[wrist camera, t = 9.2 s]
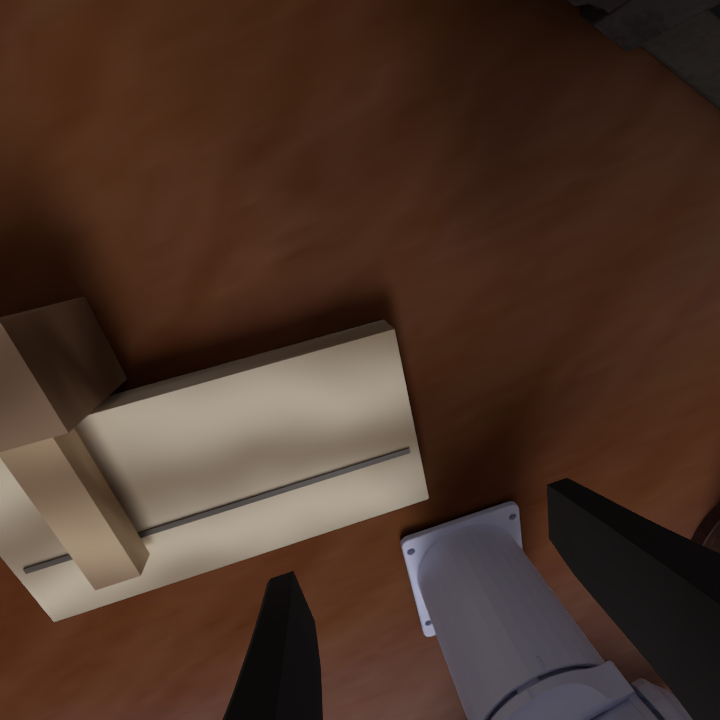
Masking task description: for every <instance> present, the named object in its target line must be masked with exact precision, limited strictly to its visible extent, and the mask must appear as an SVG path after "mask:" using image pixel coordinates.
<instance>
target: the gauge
mask: <svg viewBox="0 0 720 720" xmlns="http://www.w3.org/2000/svg"><path fill="white" fill-rule="evenodd" d="M126 380H127V377H126V375H125V374H124V372H123V370H122V368H121V366H120V364H119V362H118V360H117V358H116V356H115V354H114V352H113V350H112V348H111V346H110V344H109V342H108V340H107V338H106V336H105V334H104V332H103V330H102V328H101V326H100V324H99V323H98V321H97V319H96V317H95V315H94V313H93V311H92V309H91V307H90V305H89V303H88V301H87V299H86V297H85V296H84V297H80V298H76V299H72V300H68V301H64V302H60V303H56V304H52V305H47V306H43V307H39V308H35V309H31V310H27V311H23V312H19V313H15V314H11V315H7V316H3V317H0V458H1V460H2V461H3V462H4V464H5V465H6V467H7V468H8V469H9V471H10V472H11V473H12V475H13V476H14V478H15V479H16V480H17V482H18V483H19V485H20V486H21V487H22V489H23V490H24V492H25V493H26V494H27V496H28V497H29V499H30V500H31V501H32V503H33V504H34V506H35V507H36V508H37V510H38V511H39V513H40V514H41V515H42V517H43V518H44V520H45V521H46V522H47V524H48V525H49V527H50V528H51V529H52V531H53V532H54V534H55V535H56V536H57V538H58V539H59V541H60V542H61V543H62V545H63V546H64V548H65V549H66V550H67V552H68V553H69V555H70V556H71V557H72V559H73V560H74V562H75V563H76V564H77V566H78V567H79V568H80V570H81V571H82V573H83V574H84V575H85V577H86V578H87V580H88V581H89V582H90V584H91V585H92V587H93V588H94V589H95V590H98V589H102V588H105V587H108V586H111V585H114V584H117V583H120V582H123V581H126V580H129V579H132V578H136V577H139V576H141V574H142V572H143V569H144V567H145V565H146V562H147V560H148V558H149V555H150V553H149V551H148V550H147V548H146V546H145V545H144V543H143V541H142V540H141V538H140V536H139V535H138V533H137V532H136V530H135V528H134V527H133V525H132V523H131V522H130V520H129V518H128V517H127V515H126V513H125V512H124V510H123V508H122V507H121V505H120V503H119V502H118V500H117V498H116V497H115V495H114V493H113V492H112V490H111V488H110V487H109V485H108V483H107V482H106V480H105V478H104V477H103V475H102V474H101V472H100V470H99V469H98V467H97V465H96V464H95V462H94V460H93V459H92V457H91V455H90V454H89V452H88V450H87V449H86V447H85V445H84V444H83V442H82V440H81V439H80V437H79V435H78V434H77V432H76V430H75V429H74V427H76V426H77V425H78V424H79V423H80V422H81V421H82V420H83V419H84V418H85V417H86V416H87V415H89V414H90V413H91V412H92V411H93V410H94V409H95V408H96V407H97V406H98V405H99V404H101V403H102V402H103V401H104V400H105V399H106V398H107V397H108V396H109V395H110V394H111V393H112V392H114V391H115V390H116V389H117V388H118V387H119V386H120V385H121V384H122V383H123V382H124V381H126Z"/></svg>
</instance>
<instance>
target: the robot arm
mask: <svg viewBox="0 0 720 720" xmlns="http://www.w3.org/2000/svg"><path fill="white" fill-rule="evenodd" d="M547 495H548V522H549V539H550V540H551V542H552V543H553V545H554V546H555V548H556V549H557V551H558V552H559V554H560V555H561V557H562V558H563V559H564V561H565V562H566V564H567V565H568V566H569V568H570V569H571V571H572V572H573V574H574V575H575V576H576V577H577V579H578V580H579V581H580V582H581V583H582V585H583V586H584V587H585V588H586V589H587V591H588V592H589V593H590V594H591V595H592V596H593V598H594V599H595V600H596V601H597V602H598V604H599V605H600V606H601V607H602V608H603V609H604V611H605V612H606V613H607V614H608V615H609V616H610V618H611V619H612V620H613V621H614V622H615V623H616V625H617V626H618V627H619V628H620V629H621V630H622V632H623V633H624V634H625V635H626V636H627V638H628V639H629V640H630V641H631V642H632V643H633V645H634V646H635V647H636V648H637V649H638V650H639V652H640V653H641V654H642V655H643V656H644V657H645V659H646V660H647V661H648V662H649V663H650V664H651V666H652V667H653V668H654V669H655V671H656V672H657V673H658V674H659V676H660V677H661V678H662V679H663V681H664V682H665V683H666V684H667V686H668V687H669V688H670V690H671V691H672V692H673V694H674V695H675V696H676V697H675V696H674V695H673V694H671V693H670V692H669V691H667V690H666V689H664V688H661V687H659V686H657V685H654V684H651V683H650V682H649V681H647V680H645V679H643V678H638V679H637V680H635V681H633V682H632V683H631V686H630V684H629V683H628V682H627V680H626V679H625V678H624V676H623V675H622V674H621V672H620V671H619V670H618V668H617V667H616V666H615V664H614V663H613V662H612V661H610V660H609V661H607V662H605V661H604V660H603V659H602V657H601V656H600V655H599V653H598V652H597V651H596V649H595V648H594V647H593V645H592V644H591V642H590V641H589V640H588V638H587V637H586V636H585V634H584V633H583V632H582V630H581V629H580V628H579V626H578V625H577V623H576V622H575V621H574V619H573V618H572V617H571V615H570V614H569V613H568V611H567V610H566V609H565V607H564V606H563V604H562V603H561V602H560V600H559V599H558V598H557V596H556V595H555V594H554V592H553V591H552V589H551V588H550V587H549V585H548V584H547V583H546V581H545V580H544V579H543V577H542V576H541V575H540V573H539V572H538V570H537V569H536V568H535V566H534V565H533V564H532V562H531V561H530V560H529V558H528V557H527V556H526V554H525V553H524V551H523V549H522V538H521V527H520V515H519V507H518V505H517V504H516V503H515V502H513V501H509V502H506V503H503V504H500V505H497V506H494V507H491V508H488V509H485V510H482V511H479V512H476V513H473V514H470V515H467V516H464V517H461V518H458V519H455V520H452V521H449V522H446V523H443V524H440V525H437V526H434V527H431V528H428V529H425V530H423V531H420V532H417V533H414V534H411V535H408V536H405V537H404V538H403V539H402V540H401V547H402V551H403V555H404V559H405V563H406V567H407V571H408V575H409V579H410V583H411V587H412V591H413V595H414V598H415V602H416V606H417V610H418V614H419V618H420V622H421V626H422V630H423V633H424V635H425V636H428V637H430V636H433V635H436V636H437V639H438V641H439V644H440V647H441V649H442V652H443V655H444V658H445V660H446V663H447V666H448V668H449V671H450V674H451V677H452V679H453V682H454V685H455V687H456V690H457V693H458V696H459V698H460V701H461V704H462V707H463V709H464V712H465V715H466V717H467V720H720V553H718V552H716V551H713V550H711V549H709V548H707V547H705V546H702V545H700V544H698V543H696V542H693V541H691V540H689V539H687V538H685V537H683V536H681V535H679V534H676V533H674V532H672V531H670V530H668V529H666V528H664V527H662V526H660V525H658V524H656V523H654V522H652V521H650V520H648V519H646V518H644V517H642V516H640V515H638V514H636V513H634V512H632V511H630V510H628V509H626V508H624V507H622V506H620V505H618V504H616V503H615V502H613V501H611V500H609V499H607V498H605V497H603V496H601V495H599V494H597V493H595V492H593V491H592V490H590V489H588V488H586V487H584V486H582V485H580V484H578V483H576V482H574V481H572V480H570V479H568V478H565V479H562V480H559V481H557V482H554V483H551V484H548V485H547ZM511 514H512V515H511ZM409 549H410V550H409ZM223 720H323V712H322V686H321V666H320V658H319V650H318V642H317V635H316V627H315V621H314V618H313V616H312V614H311V611H310V609H309V607H308V604H307V602H306V600H305V597H304V595H303V593H302V590H301V588H300V586H299V583H298V581H297V578H296V576H295V574H294V571H292V572H289V573H286V574H283V575H280V576H277V577H274V578H271V579H270V580H269V582H268V583H267V587H266V590H265V594H264V598H263V601H262V605H261V609H260V612H259V616H258V619H257V622H256V626H255V629H254V632H253V635H252V638H251V642H250V645H249V648H248V651H247V654H246V657H245V659H244V662H243V665H242V668H241V671H240V674H239V677H238V680H237V683H236V686H235V689H234V691H233V694H232V697H231V699H230V702H229V705H228V707H227V710H226V713H225V715H224V718H223Z"/></svg>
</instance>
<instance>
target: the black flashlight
mask: <svg viewBox="0 0 720 720" xmlns="http://www.w3.org/2000/svg"><path fill="white" fill-rule="evenodd" d="M567 1H569V2H570V3H571V4H573V5H574V6H579V5H584V7H583V9H582V11H581V17H583V18H584V19H585V20H586V21H588V22H589V23H590V24H591V25H593V26H594V27H595V28H597V29H598V30H599V31H600V32H602V33H603V34H604V35H606V36H607V37H608V38H609V39H611V40H612V41H613V42H615V43H616V44H617V45H619V46H620V47H621V48H622V49H624V50H625V51H626V52H627V51H630V50H632V49H635V48H637V47H639V46H641V47H643V48H644V49H645V50H646V51H648V52H649V53H650V54H651V55H653V56H654V57H655V58H656V59H658V60H659V61H660V62H661V63H663V64H664V65H665V66H666V67H668V68H669V69H670V70H671V71H673V72H674V73H675V74H676V75H678V76H679V77H680V78H681V79H683V80H684V81H685V82H686V83H688V84H689V85H690V86H691V87H693V88H694V89H695V90H696V91H698V92H699V93H700V94H701V95H703V96H704V97H705V98H706V99H708V100H709V101H710V102H711V103H713V104H714V105H715V106H716V107H718V108H719V109H720V0H567Z"/></svg>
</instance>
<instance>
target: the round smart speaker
mask: <svg viewBox="0 0 720 720" xmlns="http://www.w3.org/2000/svg"><path fill="white" fill-rule="evenodd" d="M691 541H693V542H696V543H698V544H700V545H702V546H705V547H707V548H709V549H711V550H713V551H716V552H718V553H720V503H719V504H718V505H717V506H716V507H715V508H714V509H713V510H712V511H711V512H710V513H709V514H708V515H707V516H706V517H705V519H704V520H703V521H702V523H701V524H700V525H699V527H698V528H697V530H696V532H695V534H694V535H693V537H692V539H691Z"/></svg>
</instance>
